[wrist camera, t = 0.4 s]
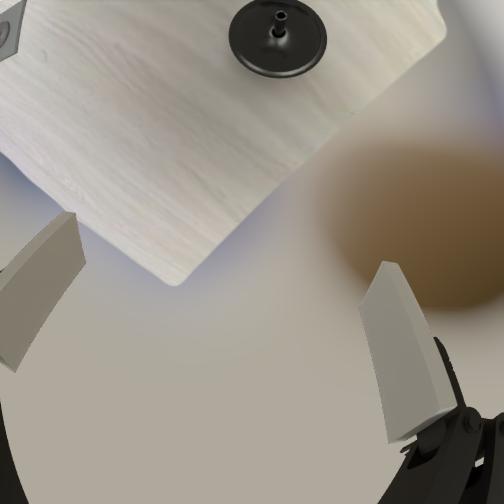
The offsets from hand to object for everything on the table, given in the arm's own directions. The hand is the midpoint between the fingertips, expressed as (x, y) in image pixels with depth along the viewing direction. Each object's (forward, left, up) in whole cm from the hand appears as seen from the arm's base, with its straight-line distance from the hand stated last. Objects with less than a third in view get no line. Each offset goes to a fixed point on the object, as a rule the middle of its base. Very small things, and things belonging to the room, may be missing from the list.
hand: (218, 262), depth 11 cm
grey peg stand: (-23, -51, -28) cm, 62 cm away
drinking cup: (-11, +1, -28) cm, 30 cm away
